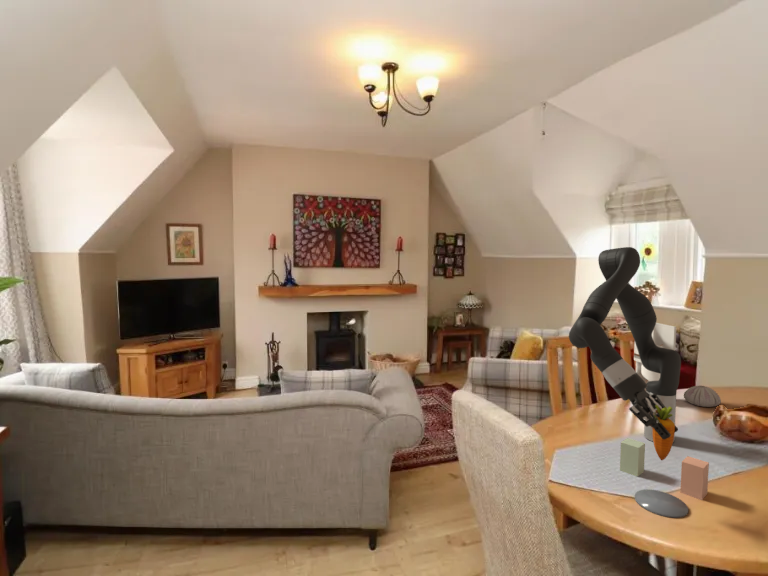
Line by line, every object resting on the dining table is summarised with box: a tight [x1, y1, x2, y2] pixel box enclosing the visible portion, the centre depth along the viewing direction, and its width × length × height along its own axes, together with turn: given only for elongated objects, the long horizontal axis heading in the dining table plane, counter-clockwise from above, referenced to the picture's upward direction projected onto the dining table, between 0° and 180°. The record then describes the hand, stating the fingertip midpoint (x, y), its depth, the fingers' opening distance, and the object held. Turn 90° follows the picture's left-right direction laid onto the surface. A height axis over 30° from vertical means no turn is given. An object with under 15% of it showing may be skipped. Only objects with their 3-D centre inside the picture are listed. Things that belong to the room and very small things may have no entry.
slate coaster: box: [634, 489, 689, 519], centre depth 114 cm, size 12×12×1 cm
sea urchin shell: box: [683, 385, 722, 408], centre depth 189 cm, size 13×14×8 cm
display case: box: [633, 322, 677, 391], centre depth 191 cm, size 11×11×35 cm
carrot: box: [652, 405, 676, 461], centre depth 112 cm, size 5×5×15 cm
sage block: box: [619, 437, 646, 477], centre depth 131 cm, size 5×5×9 cm
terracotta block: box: [679, 455, 710, 501], centre depth 118 cm, size 5×5×9 cm
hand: (671, 434), depth 111 cm, fingers closed on carrot, 5 cm apart
